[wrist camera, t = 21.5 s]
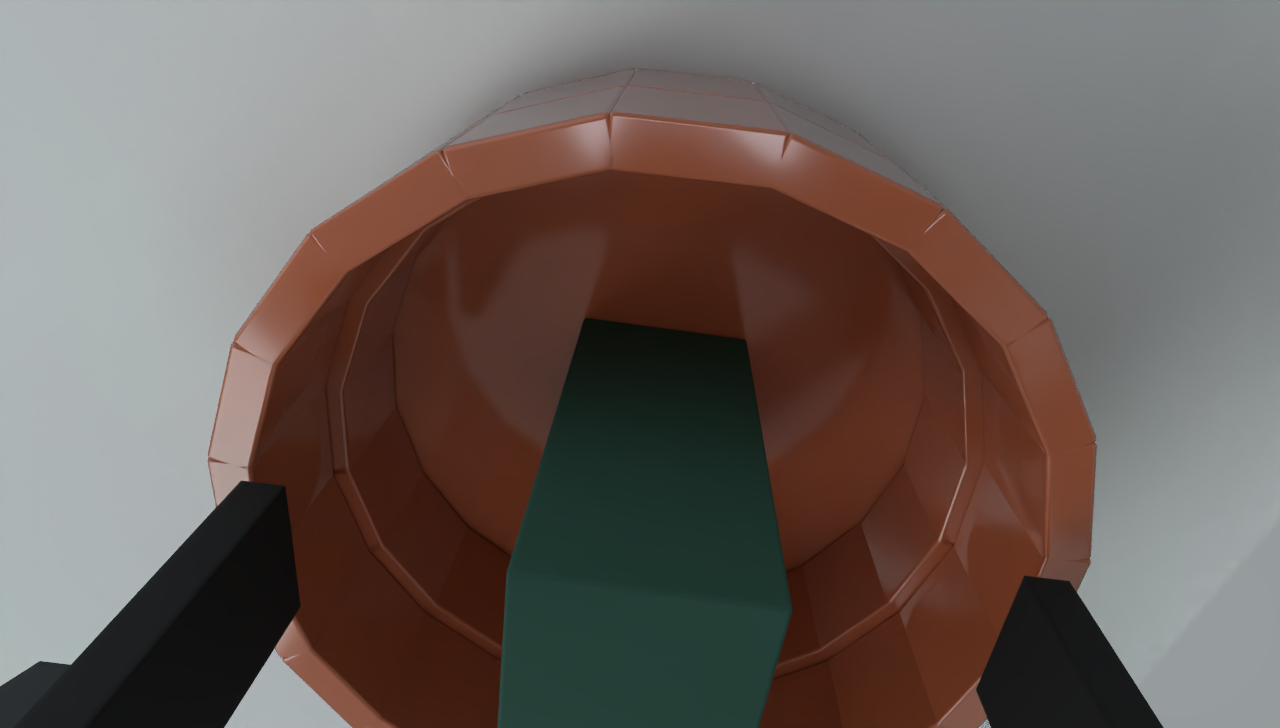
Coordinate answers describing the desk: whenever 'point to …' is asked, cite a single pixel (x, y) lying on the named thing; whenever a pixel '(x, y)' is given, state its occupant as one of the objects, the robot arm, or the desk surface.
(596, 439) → the green block
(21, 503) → the desk surface
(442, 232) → the bowl
